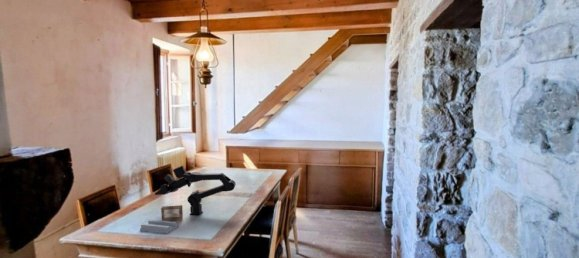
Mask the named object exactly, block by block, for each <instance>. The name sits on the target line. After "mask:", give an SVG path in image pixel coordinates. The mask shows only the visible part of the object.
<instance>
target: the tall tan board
mask: <svg viewBox="0 0 579 258" xmlns="http://www.w3.org/2000/svg"><path fill="white" fill-rule="evenodd" d="M160 211H161V221H171V222H182V221H183V220H184V217H183V214H184V213H183V212H184V211H183V205H182V204H181V205H179V204H178V205H165V206H161V208H160Z"/></svg>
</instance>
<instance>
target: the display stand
mask: <svg viewBox="0 0 579 258" xmlns="http://www.w3.org/2000/svg"><path fill="white" fill-rule="evenodd" d="M147 222H148V223H142V224H140V228H139V231H141V232H150V233H160V234H170V233H171V232H172V231H173V230H176V228H178V227H179V226H178V224H177V223H178V221H172V222H171V221H162V219H160V220H159V219H148V220H147Z"/></svg>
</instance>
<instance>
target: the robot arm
mask: <svg viewBox="0 0 579 258" xmlns="http://www.w3.org/2000/svg"><path fill="white" fill-rule="evenodd" d="M172 171H173V173H174V175H175V178H177V179H175V178H174V177H173V175H171V174H169V173H168V174H167V175H164V178H163V179H164V180H165V181H166V182H167V184H166V183H164V184H161V185H160V189H159V190H157V191H155V193H154V195H155V196H159V195H160V196H162V195H163V196H164V195H168V194H170V193H176V192H178V190H180V189H181V188H183V187H185V186H187V187H188V188H190V187H192V184H194V183H197V182H201V181H220V182H221V183H222V184H220V185H218V186H215V187H213V188H209V189H206V190H204V191H199V190H195V191H192V192H191V193H190V195H189V196H187V203H188V204H189V205H190V206H189V207H190V209H189V211H190V213H189V216H200V215H201V214H203V212H204V211H203V208H202V206H203V205H202V200H203V199H204V198H208V197H211V196H214V195H216V194H220V193H222V192H223V193H224V192H230V191H234V189H235V187H236V185H237V184H236V181H235V180H233V179H231V178H230V177H228V176H227V175H226V174H225V173H223V172H220V173H201V172H197V171H193V172H190V171H186V170H185V167H184V165H180V166H177V167H174V168H173V169H172Z"/></svg>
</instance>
